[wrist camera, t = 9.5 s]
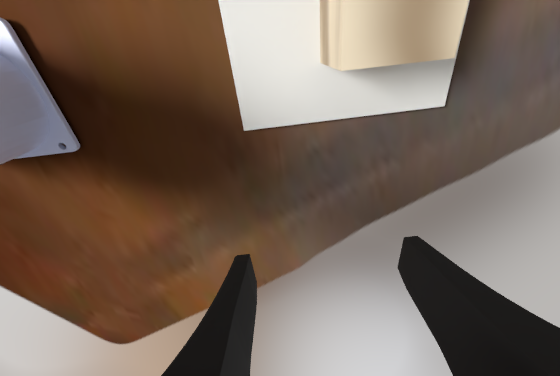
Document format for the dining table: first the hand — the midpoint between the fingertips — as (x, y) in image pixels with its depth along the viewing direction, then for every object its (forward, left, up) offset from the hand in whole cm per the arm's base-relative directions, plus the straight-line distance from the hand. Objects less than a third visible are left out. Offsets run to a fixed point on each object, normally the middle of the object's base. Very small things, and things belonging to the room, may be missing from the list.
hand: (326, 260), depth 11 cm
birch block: (+4, +10, -9) cm, 14 cm away
